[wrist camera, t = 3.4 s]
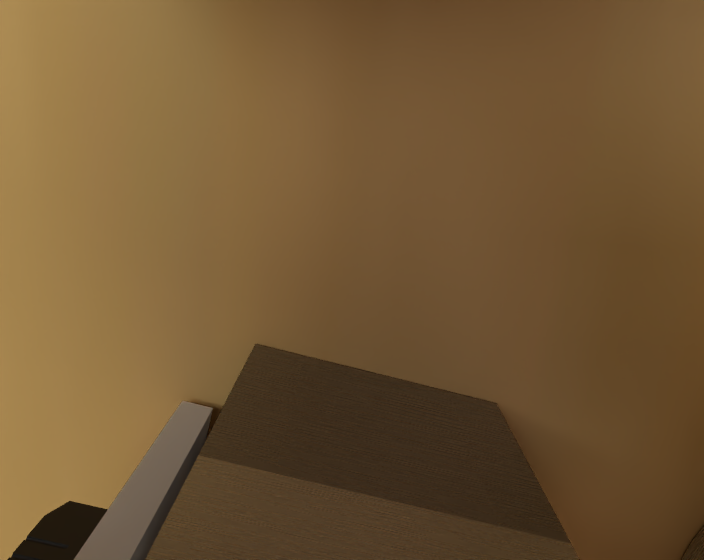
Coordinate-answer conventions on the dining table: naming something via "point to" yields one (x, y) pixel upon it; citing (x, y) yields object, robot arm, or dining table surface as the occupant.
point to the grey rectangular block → (356, 474)
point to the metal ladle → (696, 547)
